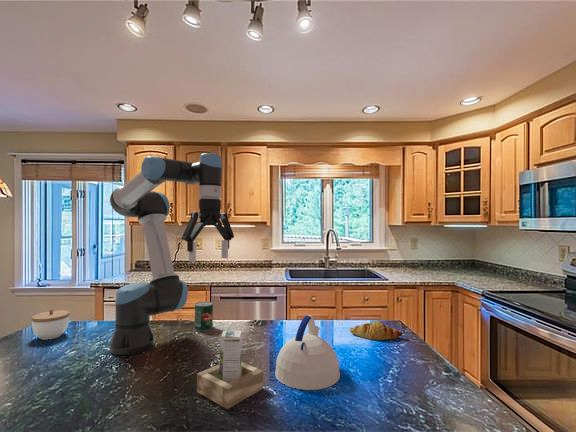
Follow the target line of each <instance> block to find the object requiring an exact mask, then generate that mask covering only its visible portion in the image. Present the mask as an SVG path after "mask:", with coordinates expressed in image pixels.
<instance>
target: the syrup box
mask: <svg viewBox="0 0 576 432" xmlns="http://www.w3.org/2000/svg"><path fill="white" fill-rule="evenodd" d="M219 341H220V342H219V346H220V347H219V364H220V367H219V379H220V380H222V381H224V382H226V383H228V384H229V383H231V382H233V381H235V380H237V379H239V378H241V364H242V362H243V361H242V357H243V352H242V351H243V330H234V329H233V330H223V331H222V334H221V336H220V339H219Z"/></svg>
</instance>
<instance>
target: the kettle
mask: <svg viewBox="0 0 576 432" xmlns="http://www.w3.org/2000/svg"><path fill="white" fill-rule="evenodd" d="M306 328H307V329H306ZM306 330H307V333H305V332H306ZM319 331H320V327H319V326H318V325H316V322H315V318H314V317H313V315H310V314H309V315H305V316H304V317H303V318H302V319H301V321H300V324H299V326H298V328H297V331H296V335H295V336H294V337H292V338H291V339H289V340H288V341H287V342H285V344H284V345H283V346H282V347H281V349H280V350H279V352H278V355H277V356H276V357H277V358H276V362H275V375H274V376H275V377H276V378H277V380H278V381H279V382H280V383H281V384H282V385H284V384H285V386H287V387H288V388H292V389H295V388H296V390H301V389H302V390H303V391H319V390H323V389H327V388H330V387H331V386H333V385H335V384H336V383H337V382H338V381H339V380H340V377H341V376H340V375H341V372H340V364H339V363H340V362H339V359H338V356H337V354H336V352H335V350H334V349H333V347H332V346H331V344H329V343H328V342H327V341H326V340H325V339H323V338H322V337H320V336H319V333H320V332H319ZM302 390H301V391H302Z"/></svg>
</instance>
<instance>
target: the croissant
mask: <svg viewBox="0 0 576 432" xmlns="http://www.w3.org/2000/svg"><path fill="white" fill-rule="evenodd" d="M349 332H350V333H351V334H353V335H355V336H358V337H360V338H363V339H366V340H367V339H368V340H373V341H374V340H375V341H384V340H395V339H398V338H400V337H402V336H403V331H401V330H398V329H397V328H394V327H391V326H389V325H387V324H384V323H383V321H380V320H375V321H372V322H367V323H366V322H365V323H363V324H361V325H360V324H359V325H355V326H353V327H350V328H349Z"/></svg>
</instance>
